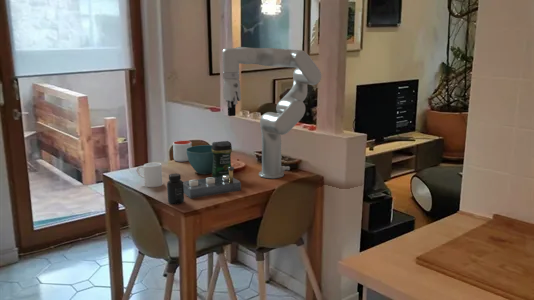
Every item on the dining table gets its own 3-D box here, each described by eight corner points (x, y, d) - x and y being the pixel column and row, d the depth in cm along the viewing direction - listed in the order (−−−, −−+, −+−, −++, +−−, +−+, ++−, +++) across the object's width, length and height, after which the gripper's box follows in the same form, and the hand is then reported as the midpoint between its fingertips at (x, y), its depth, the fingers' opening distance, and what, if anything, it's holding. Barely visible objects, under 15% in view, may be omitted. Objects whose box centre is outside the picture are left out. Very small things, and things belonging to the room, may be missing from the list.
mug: (140, 181, 251) (139, 161, 248) (164, 182, 249) (163, 162, 247) (134, 186, 243) (132, 166, 241) (159, 187, 241) (158, 167, 239)
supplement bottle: (185, 199, 225) (184, 172, 222) (183, 204, 218) (182, 177, 216) (169, 199, 225) (167, 172, 222) (166, 204, 218) (165, 177, 215)
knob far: (196, 189, 236) (196, 178, 235) (199, 192, 232) (199, 181, 231) (188, 191, 234) (187, 180, 233) (191, 193, 231) (190, 182, 229)
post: (232, 181, 238) (232, 166, 236) (234, 182, 235) (234, 167, 234) (227, 181, 236) (227, 166, 235) (229, 183, 234) (229, 168, 233)
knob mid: (213, 187, 240) (213, 176, 238) (216, 189, 236) (216, 178, 235) (205, 188, 238) (204, 177, 237) (208, 191, 234) (208, 179, 233)
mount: (229, 183, 248) (229, 171, 247) (241, 190, 237) (240, 178, 236) (180, 190, 237) (180, 178, 236) (190, 198, 226) (190, 185, 225)
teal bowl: (180, 171, 268) (179, 148, 265) (209, 165, 279) (208, 143, 277) (200, 179, 254) (199, 154, 252) (230, 172, 266) (229, 149, 263)
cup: (195, 159, 293) (195, 141, 290) (183, 163, 284) (183, 145, 282) (181, 157, 298) (181, 139, 295) (169, 160, 290) (169, 143, 287)
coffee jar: (215, 182, 250) (215, 144, 246) (210, 177, 257) (209, 140, 253) (234, 179, 254) (234, 142, 250) (228, 175, 261) (227, 139, 257)
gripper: (245, 76, 233) (246, 117, 237) (231, 74, 246) (232, 112, 250) (230, 77, 230) (230, 118, 234) (217, 74, 243) (217, 114, 247)
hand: (231, 115), depth 242 cm, fingers closed
